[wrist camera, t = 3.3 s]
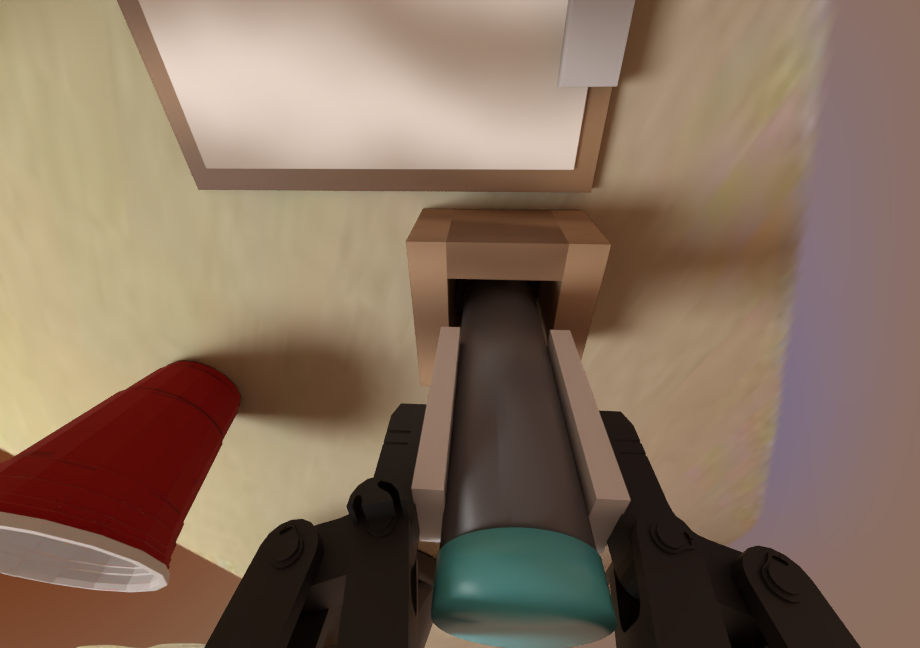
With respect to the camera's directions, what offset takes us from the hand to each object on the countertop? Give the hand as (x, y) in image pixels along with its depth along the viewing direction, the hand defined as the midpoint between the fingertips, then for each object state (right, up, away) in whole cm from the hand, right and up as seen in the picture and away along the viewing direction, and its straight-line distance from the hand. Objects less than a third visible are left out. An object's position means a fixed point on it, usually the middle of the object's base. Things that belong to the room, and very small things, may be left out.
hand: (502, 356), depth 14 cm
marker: (0, +4, +5) cm, 7 cm away
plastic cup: (-22, -4, +12) cm, 25 cm away
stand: (0, +4, +5) cm, 7 cm away
